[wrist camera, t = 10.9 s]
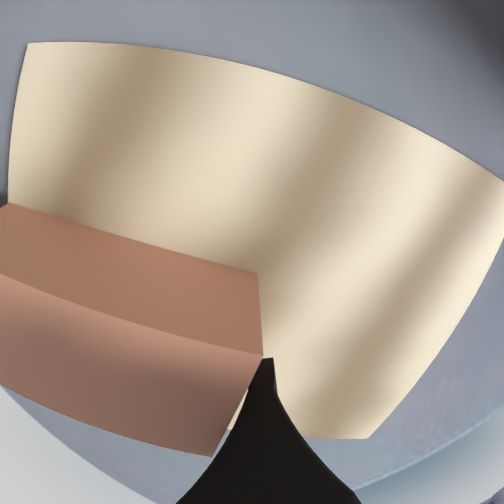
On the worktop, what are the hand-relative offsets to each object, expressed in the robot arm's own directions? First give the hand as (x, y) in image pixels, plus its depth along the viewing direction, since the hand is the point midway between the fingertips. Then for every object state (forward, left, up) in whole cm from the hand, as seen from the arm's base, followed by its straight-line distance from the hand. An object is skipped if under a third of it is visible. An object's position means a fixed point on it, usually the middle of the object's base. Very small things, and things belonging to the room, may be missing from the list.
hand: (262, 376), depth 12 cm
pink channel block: (+6, -1, -1) cm, 6 cm away
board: (+1, -2, -2) cm, 3 cm away
